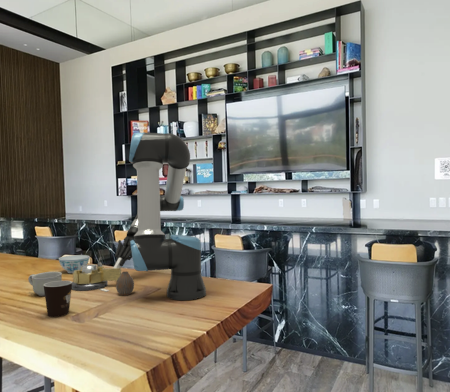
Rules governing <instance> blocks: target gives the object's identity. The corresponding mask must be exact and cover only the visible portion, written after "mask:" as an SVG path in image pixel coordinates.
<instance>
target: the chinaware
mask: <svg viewBox="0 0 450 392" xmlns="http://www.w3.org/2000/svg"><path fill="white" fill-rule="evenodd" d="M89 260H90V255H87V254H86V255H85V254H76V255H66V256H61V257H58V262H59V264H60V266H61V267H62V269H63V270H65V271H67V274H73V272H74V270H81V267H82V266H84V265H89Z"/></svg>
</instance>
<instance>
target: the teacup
mask: <svg viewBox="0 0 450 392" xmlns="http://www.w3.org/2000/svg"><path fill="white" fill-rule="evenodd" d="M62 275H63V273H62V272H60V271H46V272H40V273H36V274H30V275H29V276H28V283H29V284H30V285H31V286H32V290H33V292H34V293H35V294H36V295H38V296H40V297H45V293H44V284H46V283H49V282H54V281H63V278H62Z"/></svg>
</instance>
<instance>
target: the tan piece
mask: <svg viewBox="0 0 450 392" xmlns="http://www.w3.org/2000/svg"><path fill="white" fill-rule="evenodd" d="M102 266H103V265H102ZM102 266H100V267H98V269H97V270H92V273H82V267H81V270H74V272H73V273H72V275H73V277H72V282H74V283H77V284H90V283H97V282H101V281H108V282H114V281H116V282H117V280H118V278H119V277H120V275H121V273H122V267H121V268H114V267H104V266H103V267H102Z"/></svg>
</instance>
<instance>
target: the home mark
mask: <svg viewBox="0 0 450 392" xmlns="http://www.w3.org/2000/svg"><path fill="white" fill-rule="evenodd" d="M98 290H99V291H102V292H110V290H109V289H106V288H101V289H98Z"/></svg>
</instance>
